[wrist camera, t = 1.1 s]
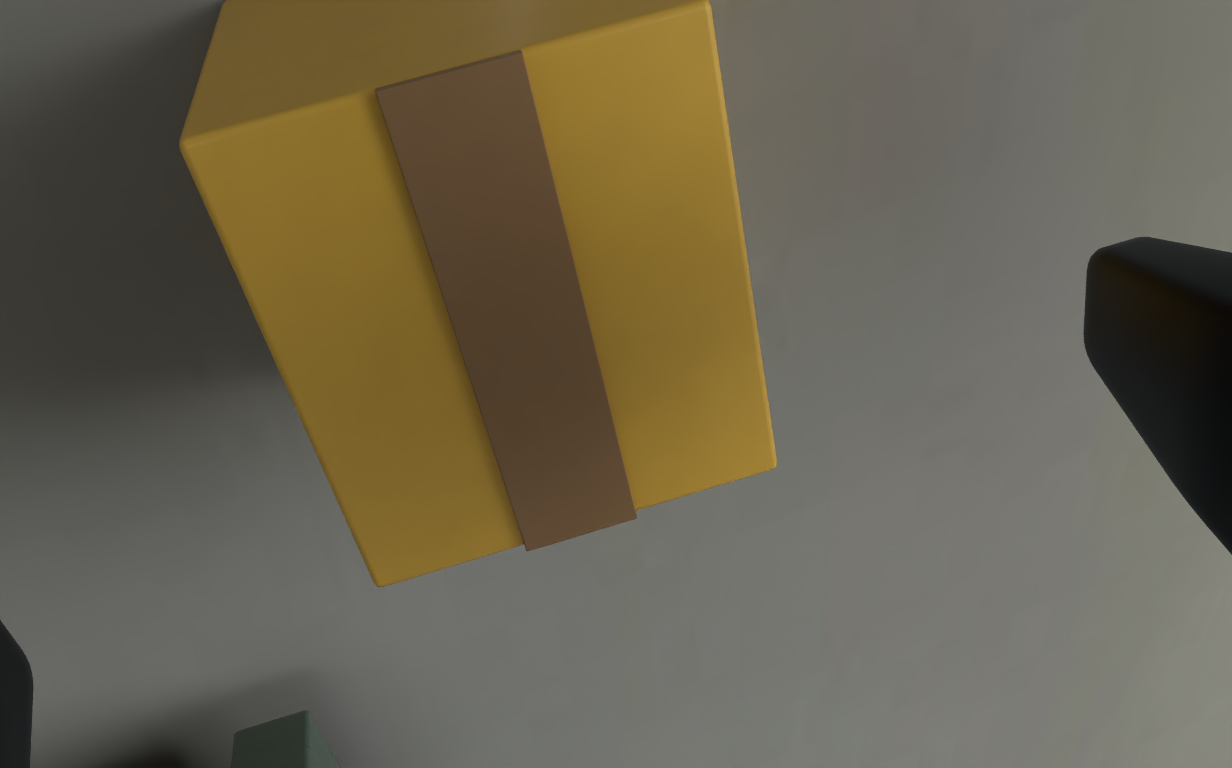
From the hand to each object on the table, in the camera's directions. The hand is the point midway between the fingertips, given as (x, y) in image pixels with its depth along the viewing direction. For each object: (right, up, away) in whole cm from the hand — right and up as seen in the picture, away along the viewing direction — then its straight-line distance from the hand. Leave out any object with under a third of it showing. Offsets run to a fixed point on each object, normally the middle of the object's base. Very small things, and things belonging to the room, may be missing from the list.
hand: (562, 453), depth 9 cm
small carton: (-1, +3, +5) cm, 6 cm away
